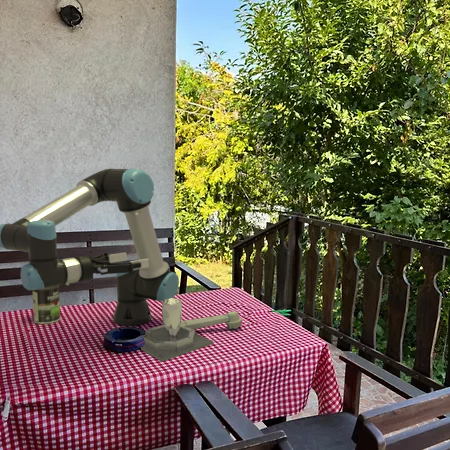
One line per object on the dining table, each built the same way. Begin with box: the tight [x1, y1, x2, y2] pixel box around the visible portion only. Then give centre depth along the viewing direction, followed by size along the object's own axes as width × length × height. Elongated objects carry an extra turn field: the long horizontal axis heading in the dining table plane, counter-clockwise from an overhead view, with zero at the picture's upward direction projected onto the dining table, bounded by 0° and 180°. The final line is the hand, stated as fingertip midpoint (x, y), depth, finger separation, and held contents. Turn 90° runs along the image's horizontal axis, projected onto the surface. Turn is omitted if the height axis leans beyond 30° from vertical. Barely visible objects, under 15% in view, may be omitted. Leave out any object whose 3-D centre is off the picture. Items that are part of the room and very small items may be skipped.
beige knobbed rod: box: [180, 310, 243, 331], centre depth 174 cm, size 5×7×25 cm
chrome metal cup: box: [161, 297, 183, 342], centre depth 160 cm, size 7×7×15 cm
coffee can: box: [31, 285, 61, 325], centre depth 185 cm, size 10×10×14 cm
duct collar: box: [140, 325, 214, 362], centre depth 163 cm, size 22×22×3 cm
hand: (136, 259), depth 152 cm, fingers open, 13 cm apart
